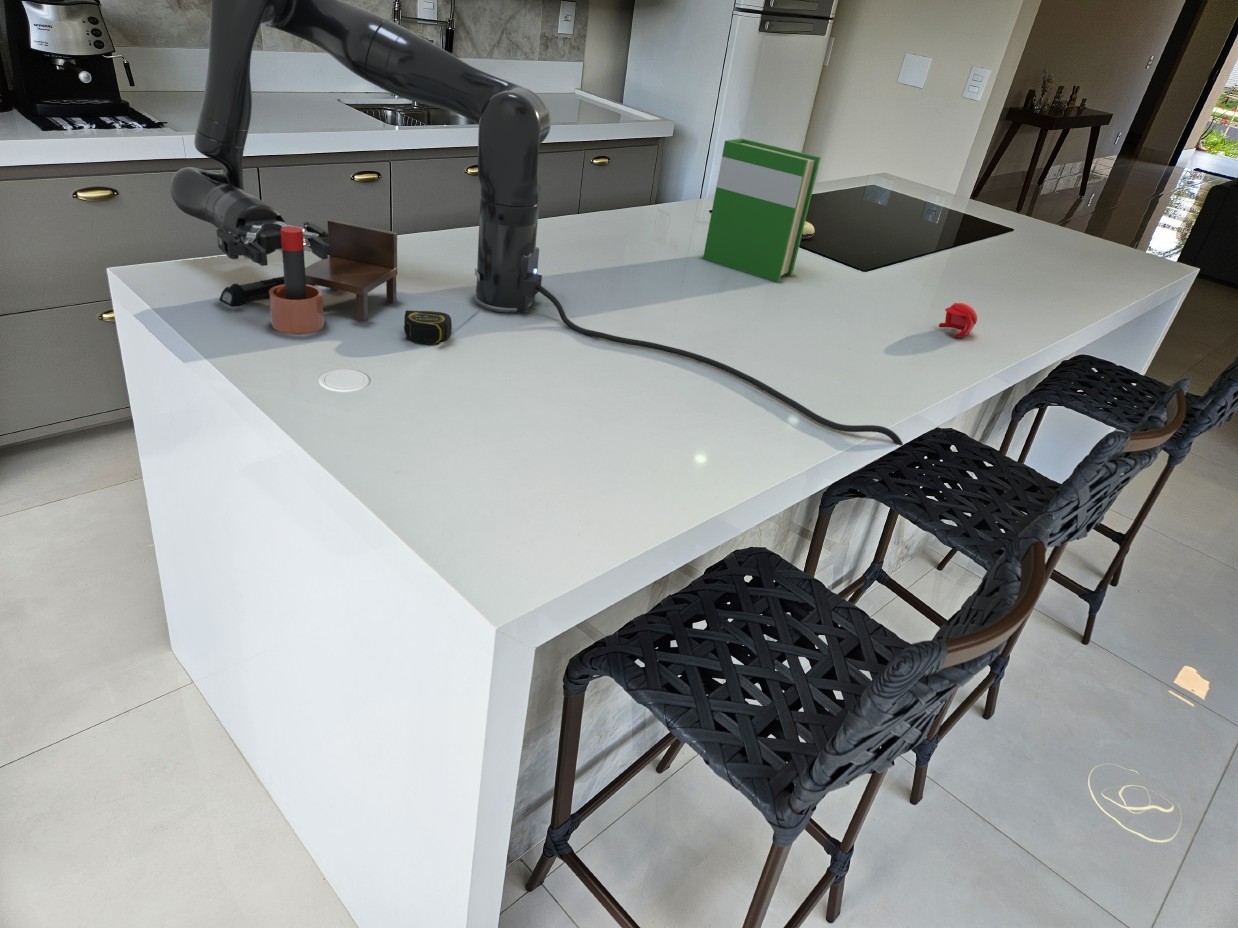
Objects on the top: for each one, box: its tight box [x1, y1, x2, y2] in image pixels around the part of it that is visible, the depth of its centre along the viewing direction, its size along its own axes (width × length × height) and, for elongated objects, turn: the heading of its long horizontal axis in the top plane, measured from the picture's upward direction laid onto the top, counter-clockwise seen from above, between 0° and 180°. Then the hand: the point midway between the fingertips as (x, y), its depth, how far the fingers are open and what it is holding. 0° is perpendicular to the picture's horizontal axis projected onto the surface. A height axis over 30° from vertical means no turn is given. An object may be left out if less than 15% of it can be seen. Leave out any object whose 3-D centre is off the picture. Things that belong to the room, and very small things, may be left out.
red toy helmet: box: [938, 302, 978, 339], centre depth 157 cm, size 8×6×6 cm
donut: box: [801, 220, 815, 240], centre depth 206 cm, size 10×5×9 cm
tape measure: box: [403, 310, 453, 345], centre depth 123 cm, size 7×7×4 cm
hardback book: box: [702, 137, 822, 283], centre depth 172 cm, size 18×7×24 cm, turn 56°
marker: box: [281, 226, 307, 300], centre depth 118 cm, size 3×3×14 cm
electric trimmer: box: [219, 275, 316, 308], centre depth 129 cm, size 4×16×3 cm, turn 142°
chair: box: [305, 218, 398, 323], centre depth 128 cm, size 11×11×12 cm
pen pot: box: [268, 284, 325, 335], centre depth 120 cm, size 7×7×6 cm
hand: (295, 255), depth 115 cm, fingers open, 8 cm apart
